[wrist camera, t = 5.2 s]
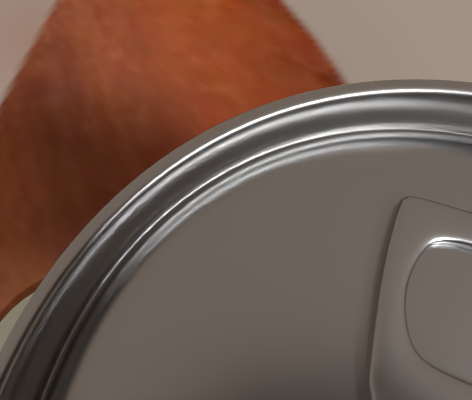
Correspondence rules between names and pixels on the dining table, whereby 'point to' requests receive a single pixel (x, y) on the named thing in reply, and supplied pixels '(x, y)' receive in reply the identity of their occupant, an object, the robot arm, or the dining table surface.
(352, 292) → the can
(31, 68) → the dining table surface
